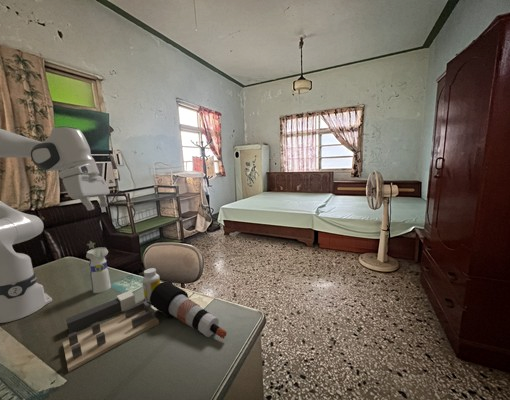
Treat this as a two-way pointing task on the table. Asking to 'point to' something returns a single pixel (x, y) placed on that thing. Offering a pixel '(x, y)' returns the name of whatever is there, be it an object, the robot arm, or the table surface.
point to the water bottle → (98, 269)
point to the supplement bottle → (150, 282)
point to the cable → (184, 309)
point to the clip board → (108, 335)
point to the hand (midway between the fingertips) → (98, 208)
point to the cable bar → (100, 312)
